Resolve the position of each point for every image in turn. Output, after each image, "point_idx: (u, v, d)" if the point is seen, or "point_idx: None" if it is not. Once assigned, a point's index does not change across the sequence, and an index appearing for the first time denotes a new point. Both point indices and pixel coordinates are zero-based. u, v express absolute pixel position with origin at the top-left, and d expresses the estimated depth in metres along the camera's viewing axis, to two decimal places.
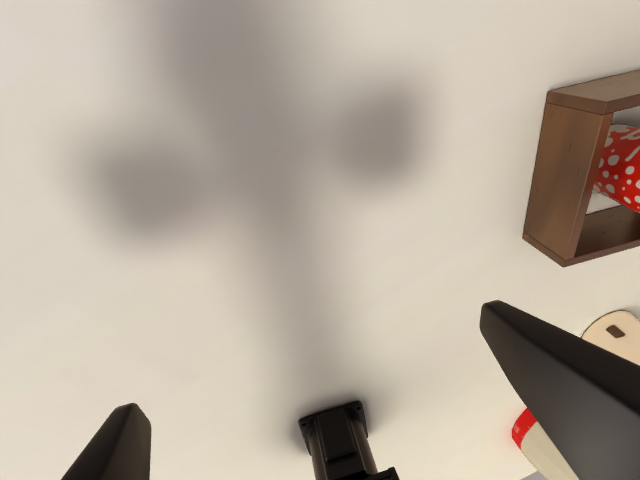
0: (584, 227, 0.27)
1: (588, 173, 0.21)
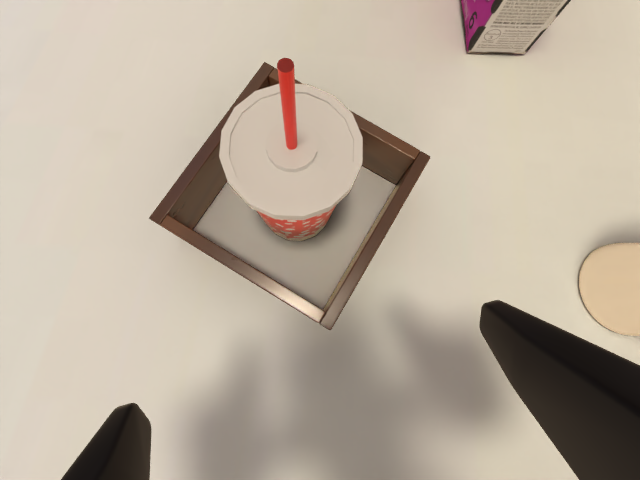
0: (352, 262, 0.22)
1: (213, 257, 0.18)
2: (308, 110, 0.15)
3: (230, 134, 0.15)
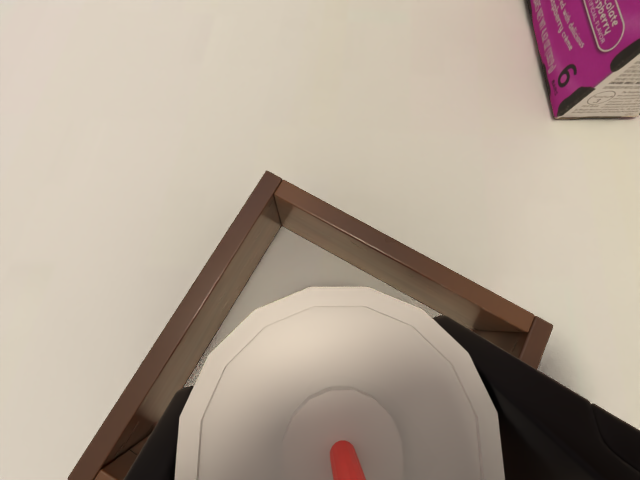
0: None
1: None
2: (370, 347, 0.07)
3: (200, 425, 0.06)
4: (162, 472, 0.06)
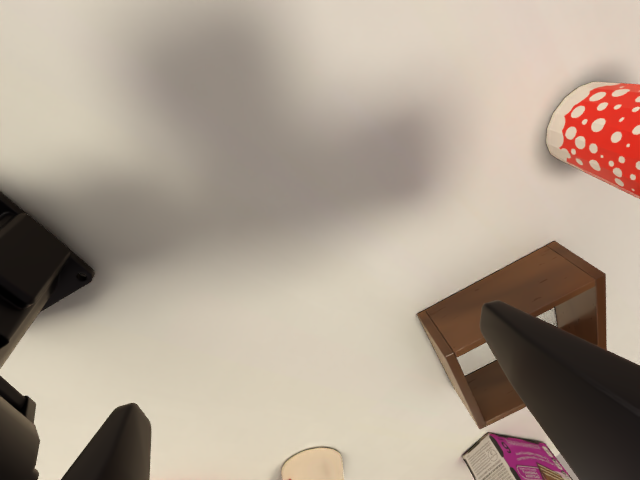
0: None
1: (545, 305, 0.22)
2: None
3: None
4: None
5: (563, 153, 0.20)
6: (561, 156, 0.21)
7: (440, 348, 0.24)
